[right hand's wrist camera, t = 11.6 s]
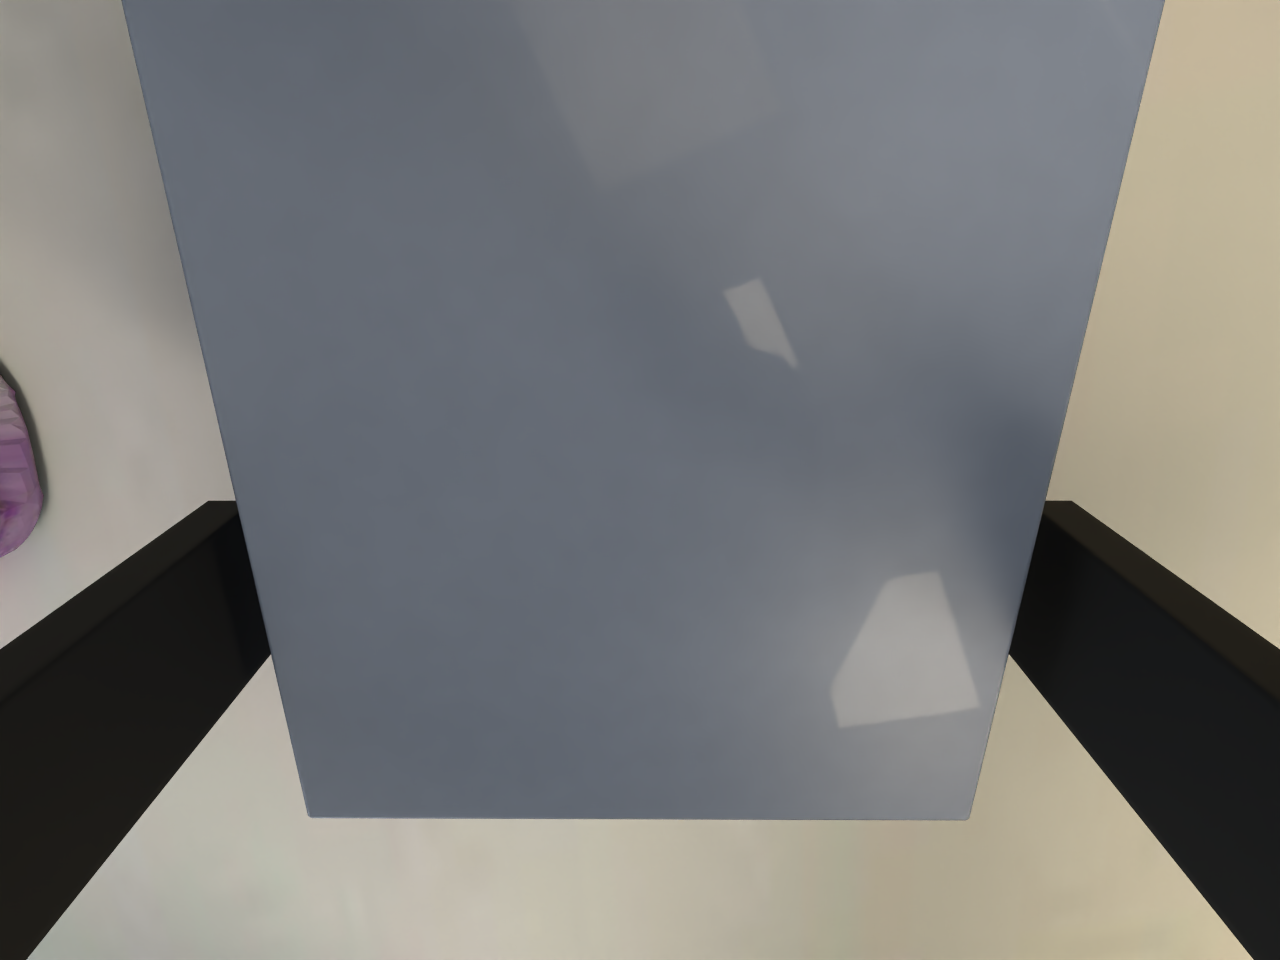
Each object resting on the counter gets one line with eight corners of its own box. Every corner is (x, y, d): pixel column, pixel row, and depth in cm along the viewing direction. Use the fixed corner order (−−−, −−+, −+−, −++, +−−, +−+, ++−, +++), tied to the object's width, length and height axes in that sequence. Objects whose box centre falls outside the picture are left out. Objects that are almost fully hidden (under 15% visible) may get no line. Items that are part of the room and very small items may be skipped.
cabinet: (393, -129, 16) (-37, -670, 6) (891, -127, 16) (1327, -662, 6) (459, 528, 22) (306, 819, 12) (819, 529, 22) (970, 822, 12)
